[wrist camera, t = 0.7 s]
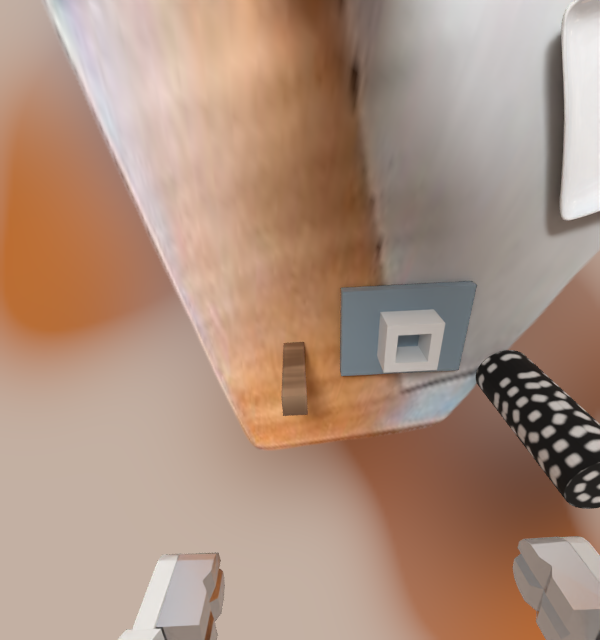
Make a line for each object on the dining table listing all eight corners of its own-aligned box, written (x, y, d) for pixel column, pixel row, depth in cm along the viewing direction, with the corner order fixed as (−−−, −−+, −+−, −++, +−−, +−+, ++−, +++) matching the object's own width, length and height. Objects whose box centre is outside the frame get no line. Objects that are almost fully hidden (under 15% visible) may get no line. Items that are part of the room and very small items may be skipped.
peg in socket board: (340, 287, 46) (346, 304, 42) (471, 281, 46) (492, 297, 41) (340, 370, 53) (344, 393, 48) (454, 364, 53) (470, 386, 48)
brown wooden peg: (283, 343, 50) (281, 396, 40) (303, 342, 50) (306, 395, 40) (285, 359, 52) (283, 415, 41) (304, 358, 52) (307, 414, 41)
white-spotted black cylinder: (506, 341, 51) (619, 446, 33) (540, 366, 53) (662, 477, 36) (464, 377, 54) (548, 491, 37) (498, 399, 57) (592, 517, 39)
